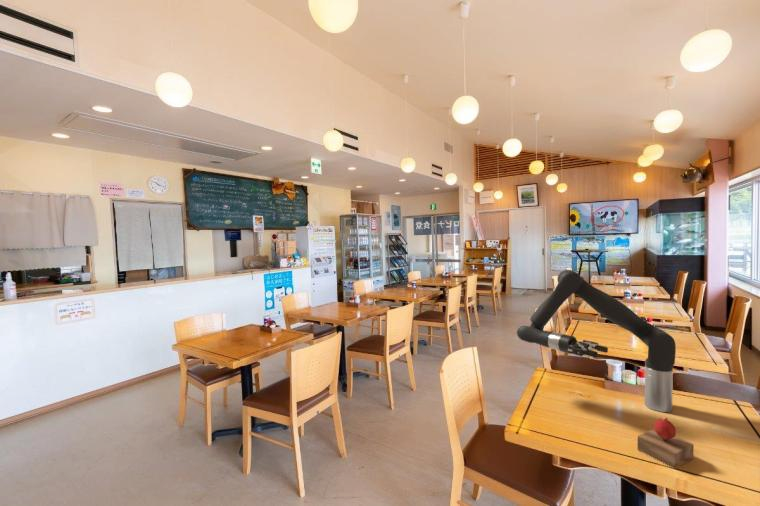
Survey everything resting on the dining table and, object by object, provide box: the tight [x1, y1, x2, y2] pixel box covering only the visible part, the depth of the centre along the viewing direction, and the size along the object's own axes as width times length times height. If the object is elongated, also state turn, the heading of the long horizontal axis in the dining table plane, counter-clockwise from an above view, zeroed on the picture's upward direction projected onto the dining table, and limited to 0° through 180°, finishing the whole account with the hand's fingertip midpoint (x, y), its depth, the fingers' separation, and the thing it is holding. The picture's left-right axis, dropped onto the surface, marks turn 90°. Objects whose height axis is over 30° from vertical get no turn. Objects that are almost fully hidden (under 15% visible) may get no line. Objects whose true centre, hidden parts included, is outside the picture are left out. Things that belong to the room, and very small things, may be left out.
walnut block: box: [637, 428, 695, 469], centre depth 120 cm, size 11×11×5 cm
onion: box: [653, 416, 677, 440], centre depth 119 cm, size 6×6×8 cm
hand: (602, 352), depth 140 cm, fingers open, 8 cm apart
